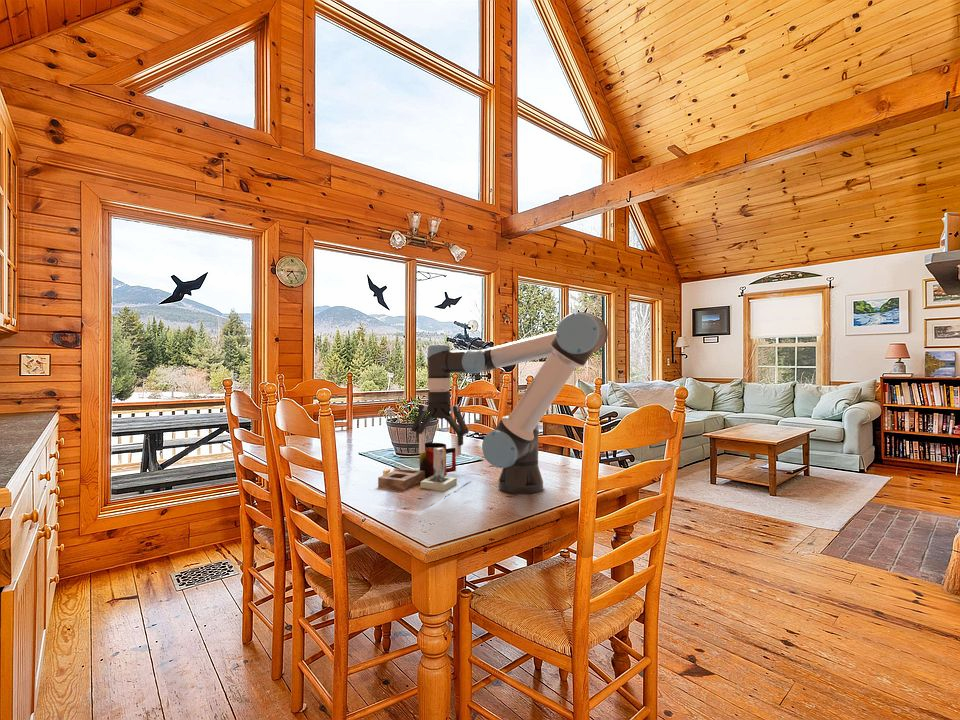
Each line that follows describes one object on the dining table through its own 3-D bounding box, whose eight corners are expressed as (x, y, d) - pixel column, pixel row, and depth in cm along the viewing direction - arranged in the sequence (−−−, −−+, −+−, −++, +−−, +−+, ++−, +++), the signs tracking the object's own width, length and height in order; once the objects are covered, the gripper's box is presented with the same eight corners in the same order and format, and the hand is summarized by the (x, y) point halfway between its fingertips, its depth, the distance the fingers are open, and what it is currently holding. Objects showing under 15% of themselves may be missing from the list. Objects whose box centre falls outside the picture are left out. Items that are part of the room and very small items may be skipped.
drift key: (411, 481, 171) (411, 471, 171) (407, 483, 169) (407, 473, 169) (387, 478, 175) (387, 468, 175) (383, 480, 172) (383, 470, 172)
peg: (446, 486, 164) (446, 448, 164) (441, 489, 161) (441, 450, 161) (436, 485, 166) (436, 447, 165) (431, 487, 162) (431, 449, 162)
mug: (456, 473, 183) (456, 442, 183) (437, 482, 170) (437, 448, 170) (434, 471, 187) (434, 440, 187) (414, 479, 175) (414, 446, 174)
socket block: (425, 482, 171) (425, 470, 171) (404, 493, 158) (404, 480, 158) (400, 479, 175) (400, 468, 175) (378, 489, 162) (378, 477, 162)
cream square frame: (456, 486, 166) (456, 477, 166) (444, 493, 157) (444, 484, 157) (433, 483, 169) (433, 475, 169) (420, 490, 161) (420, 481, 161)
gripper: (477, 390, 161) (478, 454, 162) (412, 389, 171) (413, 449, 171) (468, 392, 154) (469, 458, 155) (401, 390, 164) (401, 453, 164)
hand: (439, 453), depth 163 cm, fingers open, 13 cm apart
